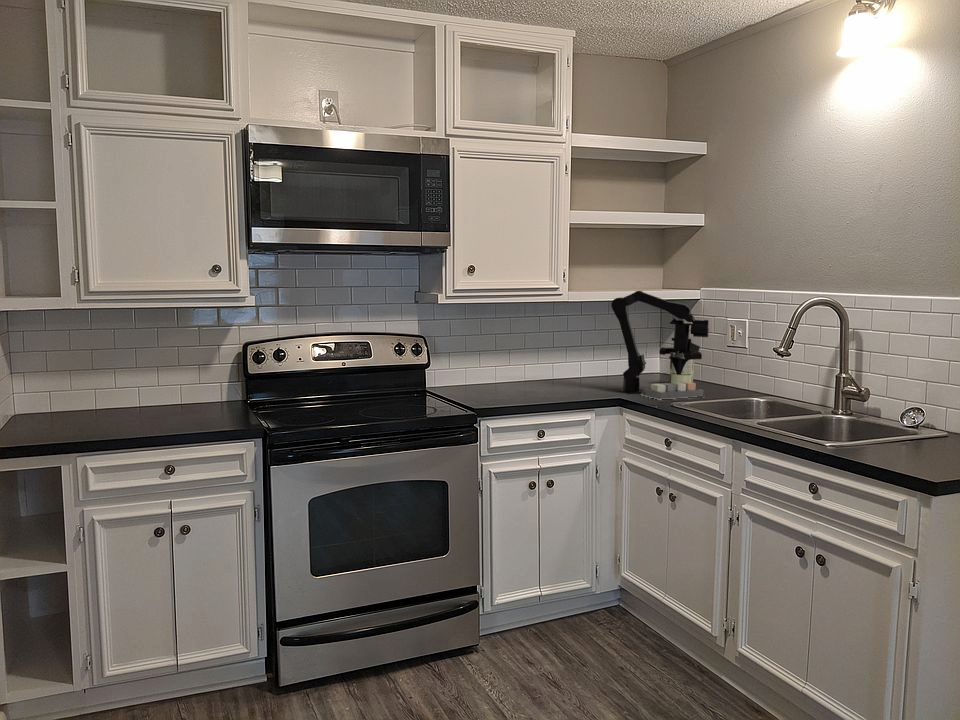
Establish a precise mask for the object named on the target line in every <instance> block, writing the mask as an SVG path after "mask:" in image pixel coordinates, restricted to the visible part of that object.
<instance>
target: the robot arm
mask: <svg viewBox="0 0 960 720" xmlns="http://www.w3.org/2000/svg"><path fill="white" fill-rule="evenodd" d="M637 302H641V303H644V304H647V305H650V306H653V307H656V308H658V309H660V310H664V311H665V312H667V313H669V314H671V315H672V316H674V317H673V319H672V320H671V321H670V322H669V324H670V325H674V329H673V330H674V332H673V337H671V341H673V345H672V346H673V347H670V346H667V347H665V346H663V347H660V349H659V355H662V356H665V355H669V356H668V358H669V359H671V361H672V363H673V365H674V368H675V370H676V373H677V375H681V372H682V370H683V368H684V366H685V364H686V362H687V361H688V360H692V359H694V360H702V358H703V354H702V352H700V350H701V349H700V348H701V346H699V345H698V344H695V343H693V342H692V338H690V334H691V335H692V336H693V337H696V338H709V336H710V335H709V334H710V328H709V326H710V325H709V323H710V322H709V319H703V320H702V319H695V316H694V315H693V314H692V309H691V307H690V305H688V304H686V303H680V302H674V301H668V300H666V299H664V298H660V297H658V296H654V295H653V294H652V295H651V294H649V293H646V292H644V291H642V290H636V291H634V292H633V293H631V294H628V295H625V296H623V297H616V298H614V299H613V300H612V301H611V304H610V305H611V309H612V311H613V313H614V315H615V316H616V318H617V321H618V323H619V326H620V329H621V333H622V336H623V337H622V338H623V340H624V344H625V347H626V352H627V363H628V364H627V365H628V366H627V367H628V368H627V369H626V370H624V372H622V376H623V383H622V385H623V387H622V389H620V390H619V392H621V391H622V392H623V393H625V392H626V394H643V391H642V390H641V391H640V375H641V374H642V373H643V372H644V371H645V369H646V364H647V362H646V359H645V355H644V353H643V354H640V352H639V349H638V346H637V342H636V339H635V335H634V331H633V327H632V325H631V321H630V314H629V313H630V309H629V306H631V305H633V304H635V303H637ZM685 321H686V322H685Z"/></svg>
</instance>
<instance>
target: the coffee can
mask: <svg viewBox="0 0 960 720" xmlns="http://www.w3.org/2000/svg"><path fill="white" fill-rule="evenodd" d="M669 359H670V358H669ZM669 362H670V363H669V374H668V375H669V376H668V377H669V378H668V383H681V382H691V383H694V373H695V372H694V370H695V359H692V360H688V361H687V362H686V364H685V366H684V368H683V370H682V372H681V375H677V373H676V370H675V368H674V365H673V363H672V361H671V359H670V360H669Z"/></svg>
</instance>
